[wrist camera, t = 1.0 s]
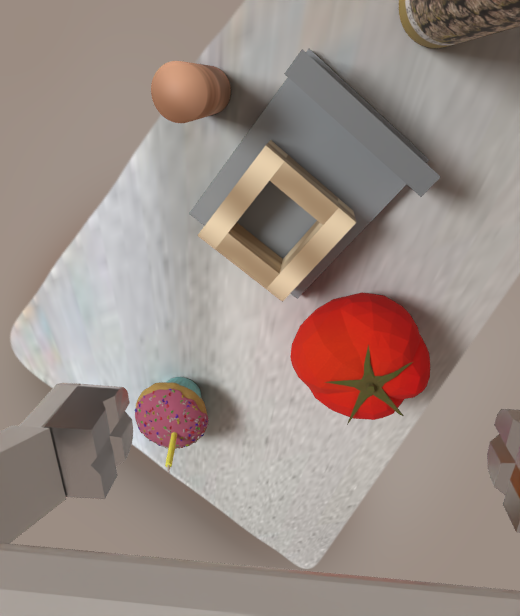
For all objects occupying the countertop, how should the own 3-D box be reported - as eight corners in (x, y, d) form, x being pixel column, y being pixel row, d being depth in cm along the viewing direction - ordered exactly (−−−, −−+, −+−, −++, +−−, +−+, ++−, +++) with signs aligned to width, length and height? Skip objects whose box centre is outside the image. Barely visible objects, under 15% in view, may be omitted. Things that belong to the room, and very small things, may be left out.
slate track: (309, 49, 39) (306, 42, 32) (426, 157, 42) (445, 171, 35) (192, 209, 47) (170, 231, 40) (298, 293, 49) (294, 325, 43)
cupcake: (225, 381, 56) (202, 452, 45) (202, 429, 59) (175, 505, 49) (159, 353, 55) (120, 419, 44) (140, 403, 59) (99, 475, 48)
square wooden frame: (270, 139, 41) (265, 145, 37) (353, 211, 43) (356, 222, 39) (207, 223, 45) (197, 235, 42) (285, 284, 47) (282, 301, 43)
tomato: (402, 382, 53) (422, 455, 42) (287, 363, 53) (279, 431, 43) (432, 286, 47) (463, 343, 37) (303, 266, 48) (298, 316, 38)
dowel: (204, 55, 40) (170, 47, 31) (239, 86, 41) (217, 87, 32) (179, 94, 42) (141, 97, 33) (214, 124, 43) (185, 134, 34)
